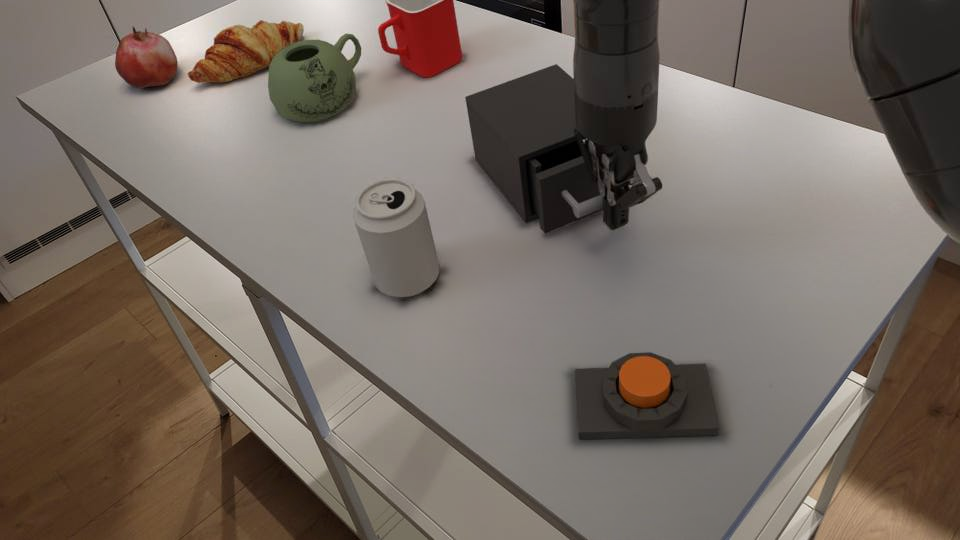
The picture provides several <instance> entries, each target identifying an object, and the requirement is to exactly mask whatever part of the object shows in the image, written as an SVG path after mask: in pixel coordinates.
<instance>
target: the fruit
mask: <svg viewBox="0 0 960 540" xmlns="http://www.w3.org/2000/svg"><path fill="white" fill-rule="evenodd" d="M178 62H179V61H178V57H177V55H176V53H175V51H174V49H173V46H172V45H171V43H170V42H169V40H168V39H167V38H165V36H163V35H161V34H158V33H155V32H149V31H148V29H147V28H146V27H145V28H144V31H141V30H136V28H135V26H132V32H131V33H128V34H127V35H125V36H123V37H122V38H121V39H120V41H119V43H118V45H117V49H116V51H115V60H114V67H115V70H116V72H117V74H118V75H119V76H120V78H121V79H123V80H124V81H125V83H127V84H128V85H130V86H132V87H134V88H137V89H145V88H150V87H163V86H165V85H167V84H168V83H170V82H171V81H172V80H173V78H174V76H175V75H176V73H177V71H178V67H179V64H178Z"/></svg>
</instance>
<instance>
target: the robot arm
mask: <svg viewBox="0 0 960 540" xmlns="http://www.w3.org/2000/svg"><path fill="white" fill-rule="evenodd" d="M572 2H573V3H572V4H573V21H574V22H573V23H574V47H573V48H574V49H573V56H572V57H573V59H572V69H573V70H572V72H573V73H572V74H573V79H574V96H575V119H576V127H577V128H575V129H574V134H575V137H576V140H577V143H578V145H579V148H580V151H581V154H582V157H583V160H584V162H585V165H586V168H587V171H588V174H589V177H590V179H591V181H592V182H593V183H595V182H598V190H599V193H600V195H601V196H602V197H603V210H602V222H603V223H604V224H605V225H606V226H607V228H609V230H611V231H615V230H617V229H619V228H622V227H625V226H627V225H628V224H629V221H630V208H632V207H634V206H636V205H641V204H643V203H645V201H647V200H648V199H650V198H651V197H653V195H656V194H657V193H658V192H659V191H661V190H662V189H663V183H662V180H661V179H660V178H659V177H658V176H655V177H652V176H650V173H649V171H648V169H647V167H646V165H647V164H648V160H649V155H648V151H647V145H646V141H647V139H648V138H649V136H650V135H651V133H652V132H653V131H654V129H655V127H656V126H657V121H658V106H659V105H658V103H659V83H660V61H661V59H660V55H661V54H660V46H659V17H660V16H659V15H660V0H572ZM847 19H848V46H849V53H850V58H851V61H852V62H851V63H852V65H853V69H854V72H855V74H856V77H857V80H858V82H859V84H860V86H861V89H862V90H863V93H864V95H865V97H866V98H868V103H869V104H870V107H871V109H872V111H873V113H874V115H875V117H876V119H877V121H878V124H879V126H880V128H881V130H882V132H883V134H884V137H885V138H886V140H887V143H888V145H889V147H890V149H891V151H892V153H893V155H894V157H895V159H896V162H897V164H898V166H899V168H900V170H901V172H902V175H903V176H904V179H905V180H906V182H907V184H908V186H909V188H910V190H911V191H912V194H913V195H914V197H915V199H916V201H917V202H918V204H920V206H921V207H922V210H923V211H924V212H925V213H926V214H927V216H929V218H930V219H931V220H932V221H933V222H934V223H935V224H936V225H937V226H938V228H940V229H941V230H942V231H943V232H944V233H945V234H946V235H947V236H948V237H949V238H951V240H952V241H954V242H955V243H957V244H958V245H959V246H960V0H849V2H848V17H847Z"/></svg>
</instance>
